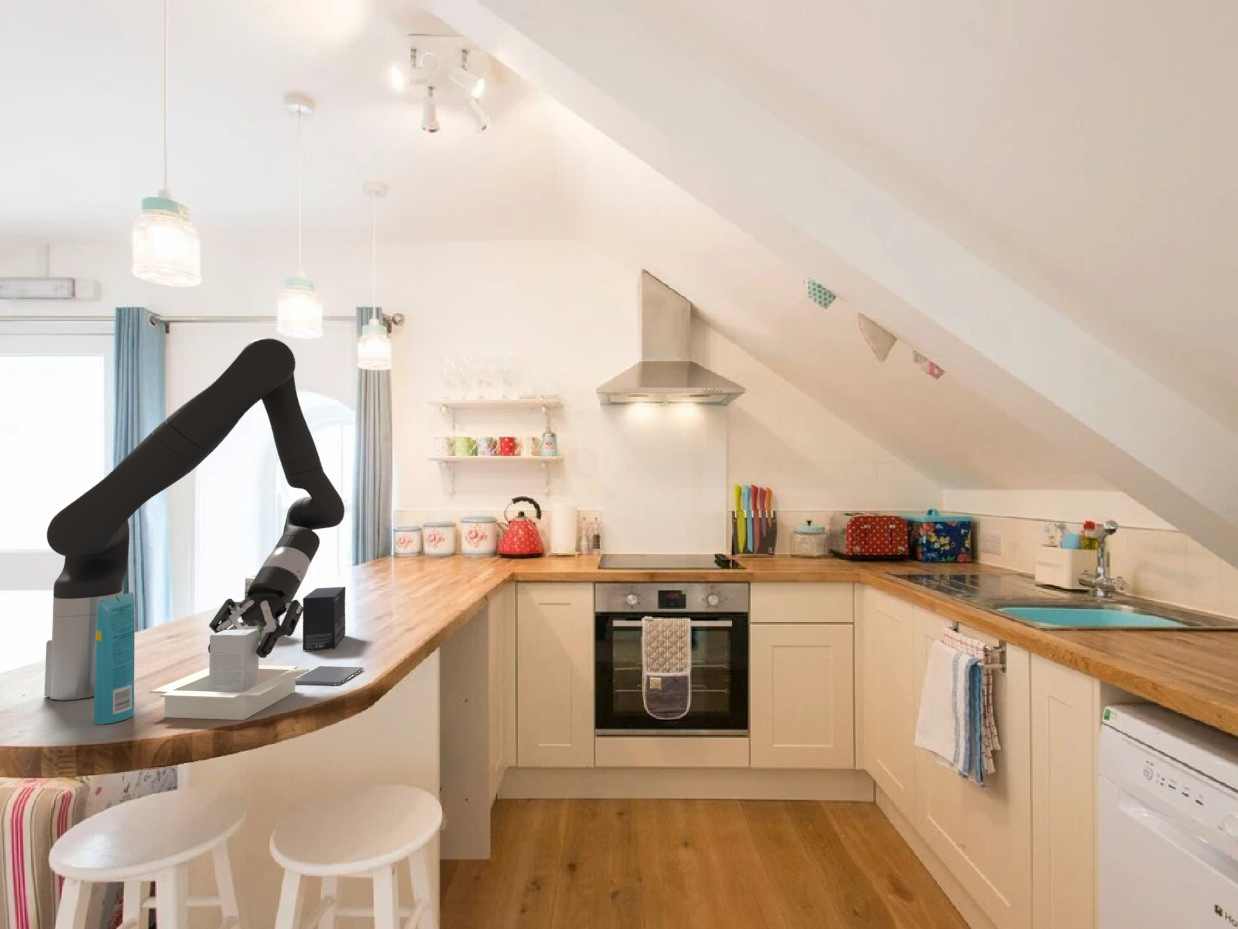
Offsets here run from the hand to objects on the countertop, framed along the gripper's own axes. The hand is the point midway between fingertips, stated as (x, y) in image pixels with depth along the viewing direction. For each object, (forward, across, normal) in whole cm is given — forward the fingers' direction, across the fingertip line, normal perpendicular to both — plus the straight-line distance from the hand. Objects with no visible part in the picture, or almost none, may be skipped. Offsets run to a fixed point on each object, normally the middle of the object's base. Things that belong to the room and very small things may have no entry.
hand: (236, 655), depth 102 cm
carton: (+6, 0, +5) cm, 8 cm away
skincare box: (+6, 0, +6) cm, 8 cm away
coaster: (-5, +8, +16) cm, 18 cm away
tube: (+12, -14, 0) cm, 18 cm away
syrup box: (-25, -26, +37) cm, 52 cm away
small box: (-22, -7, +33) cm, 40 cm away
